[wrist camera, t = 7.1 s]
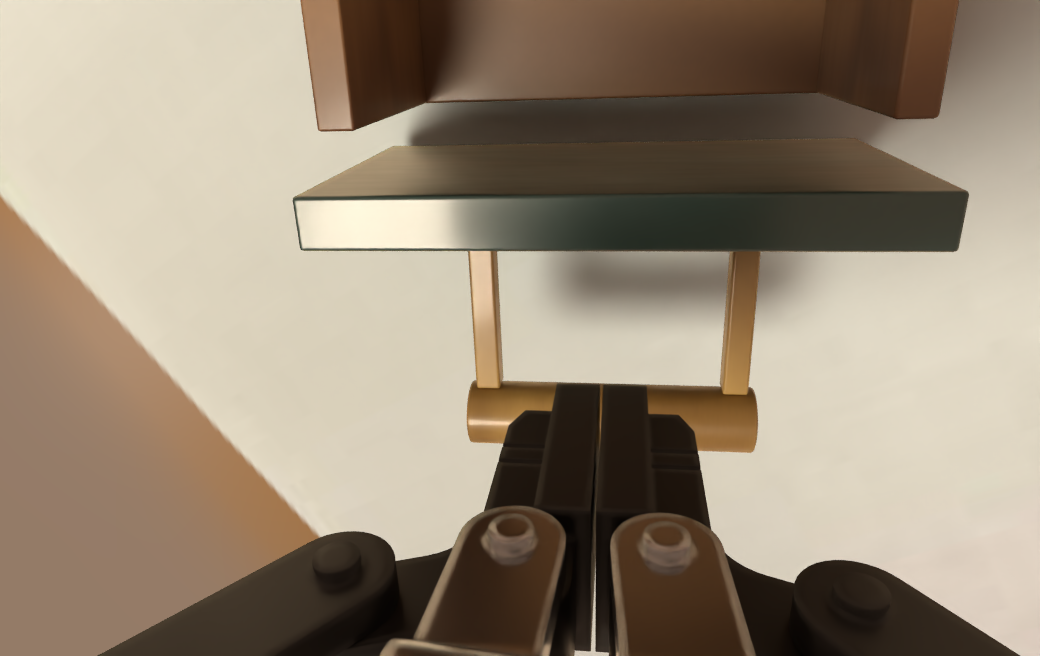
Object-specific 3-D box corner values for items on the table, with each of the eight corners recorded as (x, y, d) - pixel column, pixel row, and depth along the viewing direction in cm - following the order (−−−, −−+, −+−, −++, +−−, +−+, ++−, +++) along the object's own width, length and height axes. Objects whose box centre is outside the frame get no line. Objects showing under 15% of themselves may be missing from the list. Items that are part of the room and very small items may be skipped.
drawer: (827, 359, 23) (911, 496, 16) (411, 351, 25) (332, 471, 18) (944, -512, 15) (1192, -929, 9) (333, -434, 17) (147, -729, 10)
